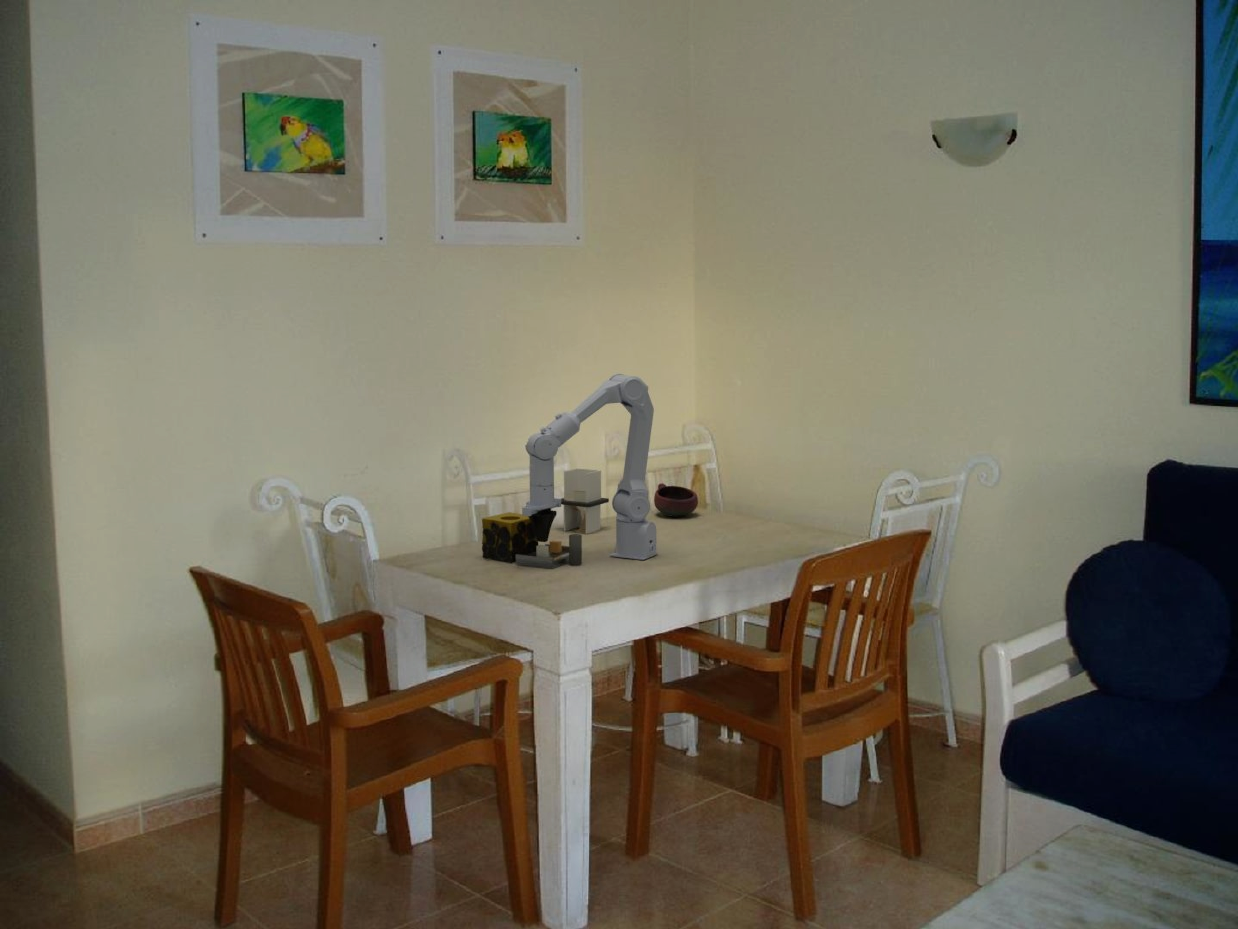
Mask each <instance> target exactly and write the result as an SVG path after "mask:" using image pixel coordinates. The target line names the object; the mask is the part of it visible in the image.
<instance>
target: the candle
mask: <svg viewBox="0 0 1238 929" xmlns="http://www.w3.org/2000/svg"><path fill="white" fill-rule="evenodd" d="M481 523H482V525H481V526H482V541H481V542H482V543H481V544H482V546H481V551H482V557H483V558H484V559H488V560H492V561H498V562H504V563H505V562H506V563H509V564H510V563H516V554H523V555H528V554H530V553H533V552H536V546H538V545H539V542H538V541H537V538H536V534H535V530H534V527H533V524H532V522H531V520H530V519H529V517H528V516H522V513H516V512H510V511H508V512H505V513H500V514H495V515H490V516H486V517H482V518H481Z"/></svg>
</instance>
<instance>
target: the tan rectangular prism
mask: <svg viewBox="0 0 1238 929" xmlns="http://www.w3.org/2000/svg"><path fill="white" fill-rule="evenodd" d="M549 544H550V552H556V553H559V552H562V546H563V545H562V541H561V540H550V541H549Z"/></svg>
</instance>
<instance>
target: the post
mask: <svg viewBox="0 0 1238 929" xmlns="http://www.w3.org/2000/svg"><path fill="white" fill-rule="evenodd" d="M582 537H583V536H582V534H581V533H572V534H569V535H568V546H569V563H568V565H569V566H571V567H572V566H573V567H577V566H582V565H583V551H582V550H583V539H582Z"/></svg>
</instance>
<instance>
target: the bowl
mask: <svg viewBox="0 0 1238 929" xmlns="http://www.w3.org/2000/svg"><path fill="white" fill-rule="evenodd" d="M698 498H699V497H698V495H697V493H696V492H695V491H693V490H692V489H690V488H687V487H683V486H677V485H666V484H665V483H659V484H658V485H657V489H656V491H655V493H654V499H653V500H654V501H653V502H654V506H655V508H656V509H657V511H659V513H661V514H663V515H667V516H669V517H673V516H680V517H685V516H688V515H690V514H693V512H694V511H696V509H697V507H698V504H699V499H698ZM684 515H685V516H684Z"/></svg>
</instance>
